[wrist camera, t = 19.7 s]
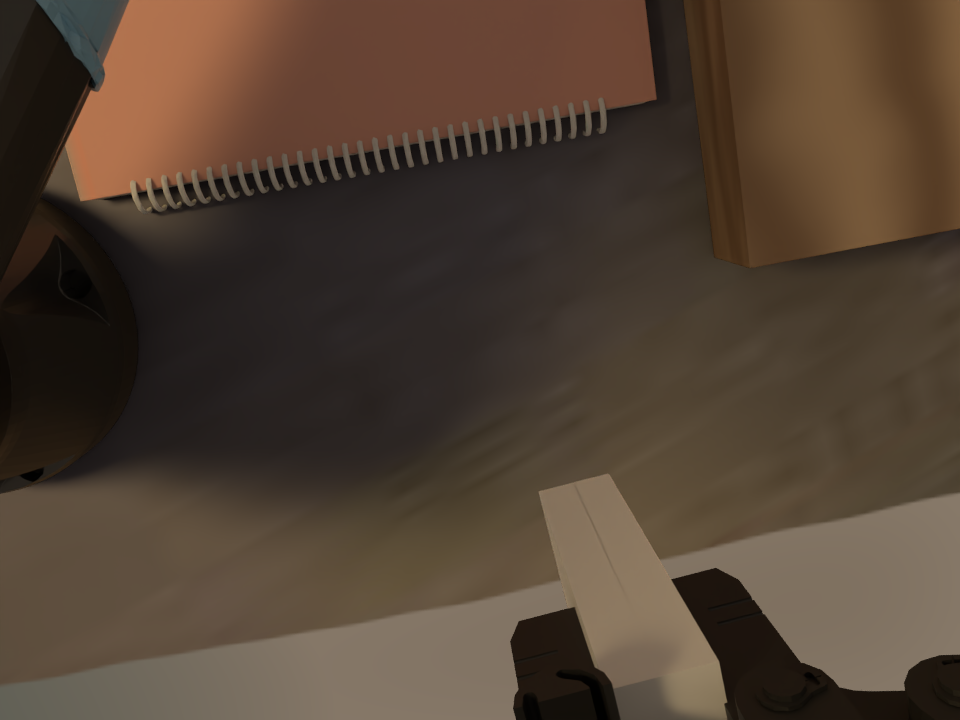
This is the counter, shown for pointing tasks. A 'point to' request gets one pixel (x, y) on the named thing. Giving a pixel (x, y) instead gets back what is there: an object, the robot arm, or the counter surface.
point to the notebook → (341, 85)
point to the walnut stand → (825, 123)
